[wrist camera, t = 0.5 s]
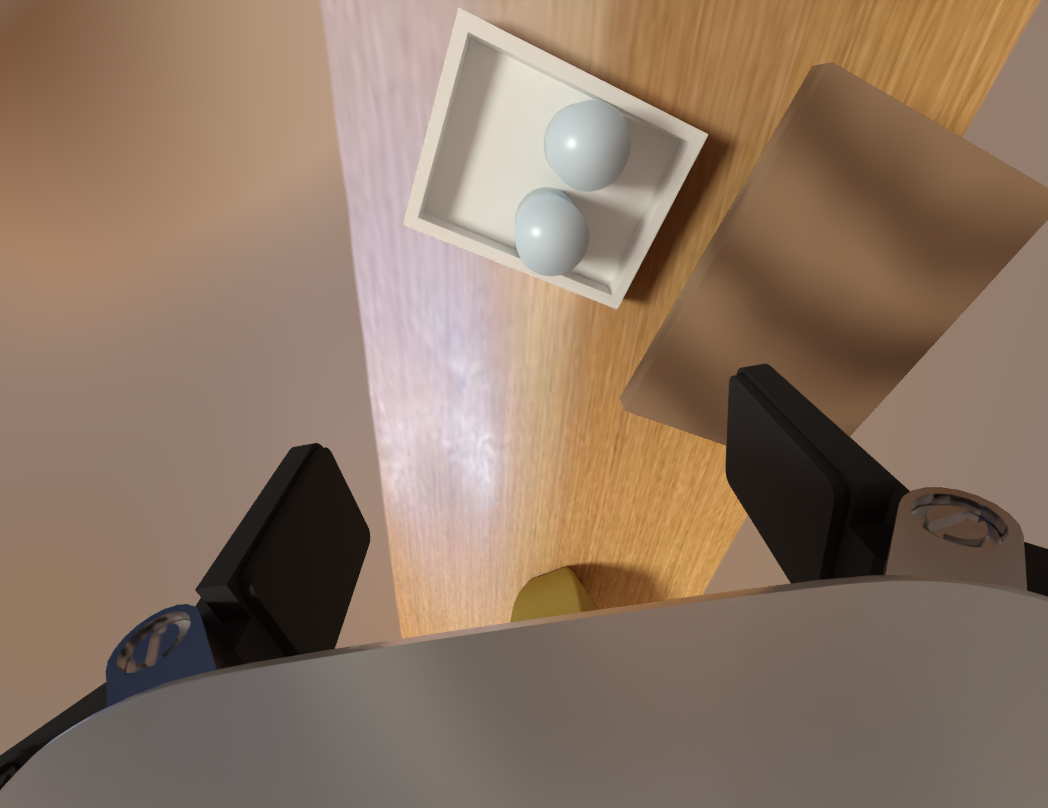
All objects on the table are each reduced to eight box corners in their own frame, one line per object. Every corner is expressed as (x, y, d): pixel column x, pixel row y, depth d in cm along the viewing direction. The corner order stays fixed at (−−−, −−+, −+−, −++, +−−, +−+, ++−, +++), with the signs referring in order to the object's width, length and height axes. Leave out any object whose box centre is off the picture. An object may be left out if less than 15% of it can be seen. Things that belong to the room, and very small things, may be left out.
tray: (463, 17, 28) (458, 7, 25) (692, 133, 31) (708, 134, 29) (410, 216, 34) (402, 224, 31) (609, 296, 37) (617, 309, 35)
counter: (717, 82, 30) (832, 62, 19) (885, 173, 33) (1066, 198, 22) (593, 329, 38) (624, 410, 28) (735, 383, 41) (813, 475, 31)
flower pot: (505, 574, 54) (504, 650, 46) (574, 548, 52) (585, 623, 44) (539, 616, 58) (544, 692, 50) (605, 593, 56) (620, 669, 48)
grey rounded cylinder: (560, 90, 29) (571, 84, 24) (622, 121, 30) (645, 121, 25) (533, 164, 31) (537, 172, 26) (592, 190, 32) (608, 203, 27)
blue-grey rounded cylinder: (528, 176, 32) (532, 187, 27) (587, 202, 33) (601, 217, 28) (505, 239, 34) (504, 260, 29) (561, 261, 35) (570, 286, 30)
